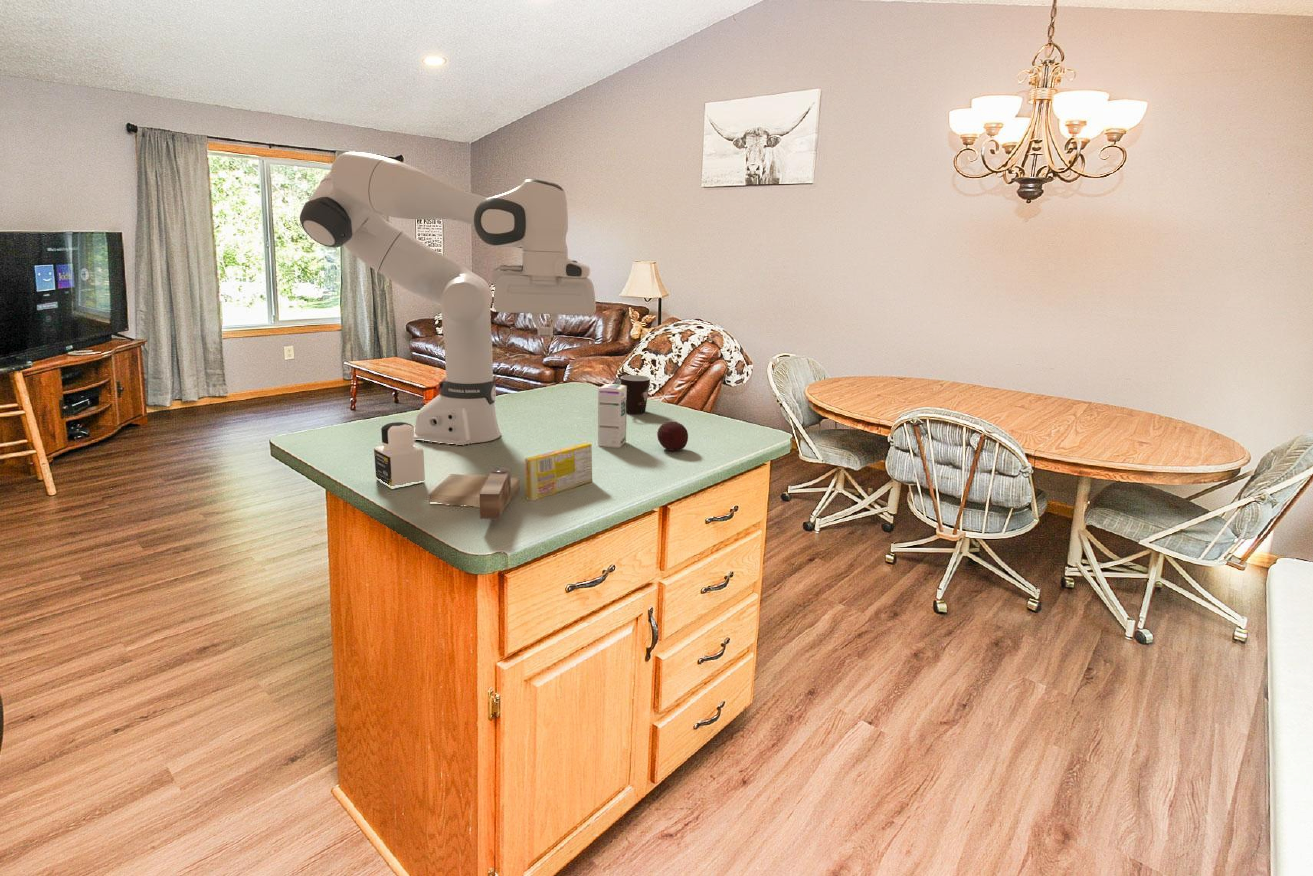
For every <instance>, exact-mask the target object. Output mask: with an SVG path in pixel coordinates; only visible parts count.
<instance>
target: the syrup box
mask: <svg viewBox="0 0 1313 876" xmlns="http://www.w3.org/2000/svg"><path fill="white" fill-rule="evenodd" d="M626 393H627V386H626V385H621V383H620V384H619V383H604V384H603V385H602V386H600V387H599V388H598V389H597V445H598V446H600V447H604V448H606V447H607V448H616V449H620V448H621V447H622V446H623V445H625V444H626V442H627V413H626Z"/></svg>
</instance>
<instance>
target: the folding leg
mask: <svg viewBox="0 0 1313 876" xmlns="http://www.w3.org/2000/svg"><path fill="white" fill-rule="evenodd" d="M511 475H512V474H511V469H509V468H506V467H496V468H495V467H494V468H492V469H491V470H490V473H489V475H488V476H489V477H488V479H487V481H486V483H485V484H484V486H483V488H482V490H481V492H480V507H479V518H480V519H479V520H500V518H501V516H502V514H503V511H504V509H505V508H504V506H505V504H506V502H507V499H508V497H509V495H510V494H511V478H512V476H511ZM505 507H506V506H505Z"/></svg>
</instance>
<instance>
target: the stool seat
mask: <svg viewBox="0 0 1313 876" xmlns="http://www.w3.org/2000/svg"><path fill="white" fill-rule="evenodd" d="M488 477H489V475H474V474H459V473H458V474H457V473H456V474H455V473H450V474H449V475H448V476H446V478H445V479H444V480H443V481H442V482H440V483H439V484H438V485H436V487H435V488H434V489H432V491H431V492H429V493H428V503H429V502H437V503H442V504H449V505H463V506H462V507H464V505H466V506H474V507H473V508H480V492H481V490H482V488H483V486H484V484H485V483H486V481H487V479H488ZM520 481H521V479H520V477H511V494H510V495H509V497H508V499H507V502H506V504H505V506H504V509H505V508H506V506H507V505H508V504H509V503H508V502H510V501H511V500H512V499H511V498H513V497H514V496H515V495H516V493H517V492H518V491H519V489H520V487H521V482H520ZM475 506H476V507H475Z"/></svg>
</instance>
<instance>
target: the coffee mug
mask: <svg viewBox="0 0 1313 876" xmlns="http://www.w3.org/2000/svg"><path fill="white" fill-rule="evenodd" d="M650 384H651V377H649V376H647V375H639V374H636V375H635V374H629V375H628V374H627V375H622V376H620V385H626V386H627V393H626V414H627V413H628V415H644V414H645V413H646V410H647V403H648V396H649V389H650Z"/></svg>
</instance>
